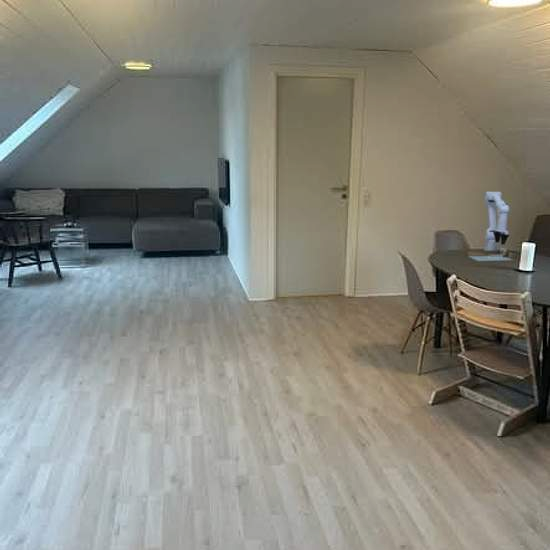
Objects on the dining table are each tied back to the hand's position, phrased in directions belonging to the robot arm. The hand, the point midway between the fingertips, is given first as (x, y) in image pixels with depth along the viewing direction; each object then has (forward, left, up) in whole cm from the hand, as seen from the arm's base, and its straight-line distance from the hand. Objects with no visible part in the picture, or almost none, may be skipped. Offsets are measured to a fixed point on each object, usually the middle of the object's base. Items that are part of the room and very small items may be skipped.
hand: (500, 243), depth 379 cm
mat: (+2, -6, -10) cm, 12 cm away
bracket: (0, -2, -9) cm, 10 cm away
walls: (+2, -6, -10) cm, 12 cm away
